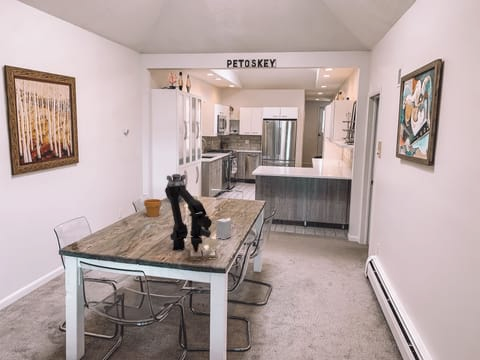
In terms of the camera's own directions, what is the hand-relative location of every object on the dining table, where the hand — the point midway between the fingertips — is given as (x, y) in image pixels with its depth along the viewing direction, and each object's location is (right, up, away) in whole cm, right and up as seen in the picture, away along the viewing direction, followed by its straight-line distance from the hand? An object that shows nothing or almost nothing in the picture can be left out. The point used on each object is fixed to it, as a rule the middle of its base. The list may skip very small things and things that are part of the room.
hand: (195, 250), depth 204 cm
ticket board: (+3, -3, +1) cm, 4 cm away
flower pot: (-47, +11, +91) cm, 103 cm away
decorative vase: (-38, +19, +149) cm, 155 cm away
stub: (0, -2, 0) cm, 2 cm away
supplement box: (+14, +1, +37) cm, 40 cm away
